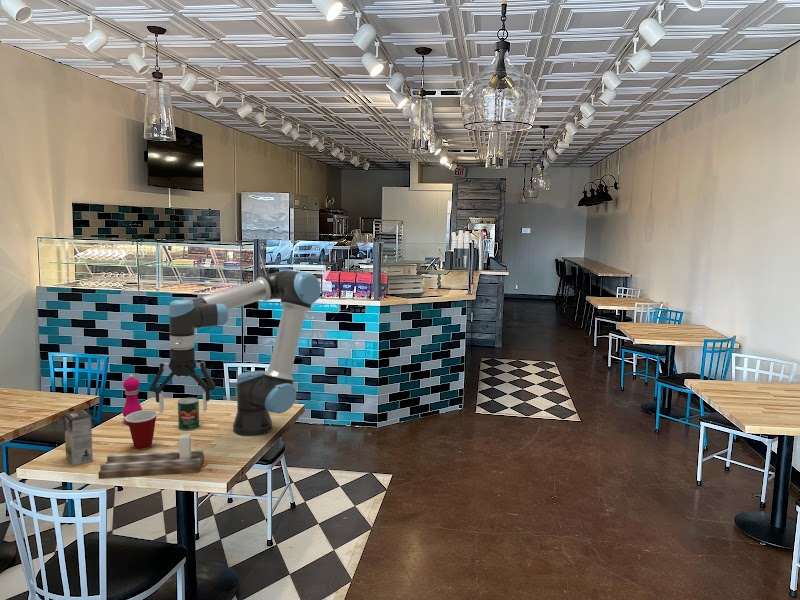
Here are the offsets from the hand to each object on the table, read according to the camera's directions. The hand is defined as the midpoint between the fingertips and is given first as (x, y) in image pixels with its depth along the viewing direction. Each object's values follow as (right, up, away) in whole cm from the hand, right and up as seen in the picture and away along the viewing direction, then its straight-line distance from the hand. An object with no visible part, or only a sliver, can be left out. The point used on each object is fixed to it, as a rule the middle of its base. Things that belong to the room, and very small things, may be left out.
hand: (183, 411), depth 189 cm
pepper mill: (-37, -13, +43) cm, 58 cm away
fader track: (-10, -19, 0) cm, 21 cm away
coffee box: (-38, -18, +6) cm, 42 cm away
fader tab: (0, -16, +2) cm, 17 cm away
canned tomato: (-13, -14, +39) cm, 43 cm away
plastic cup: (-22, -17, +18) cm, 33 cm away
